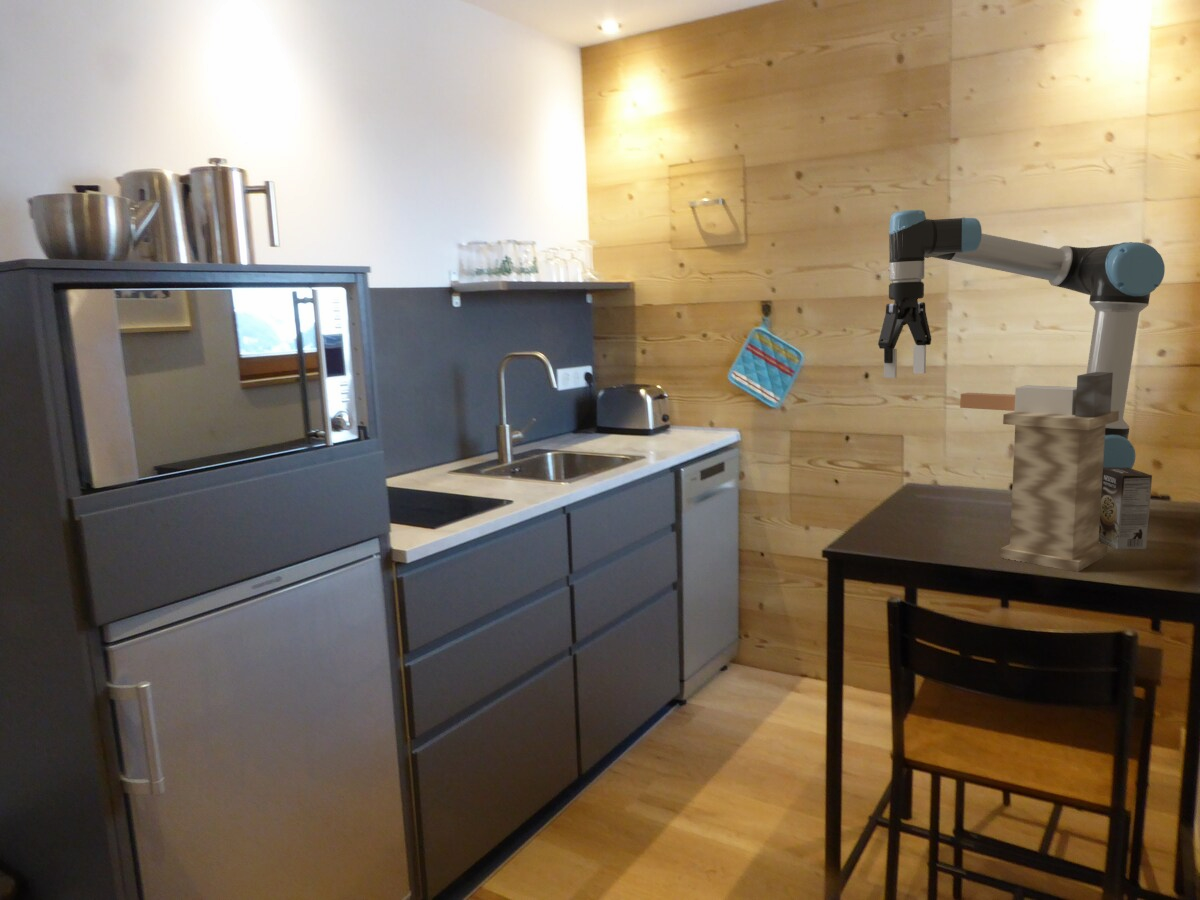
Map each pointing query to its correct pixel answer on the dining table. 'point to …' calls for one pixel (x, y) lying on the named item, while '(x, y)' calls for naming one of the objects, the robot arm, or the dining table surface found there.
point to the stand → (1060, 480)
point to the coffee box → (1125, 508)
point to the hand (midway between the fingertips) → (905, 375)
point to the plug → (1026, 400)
